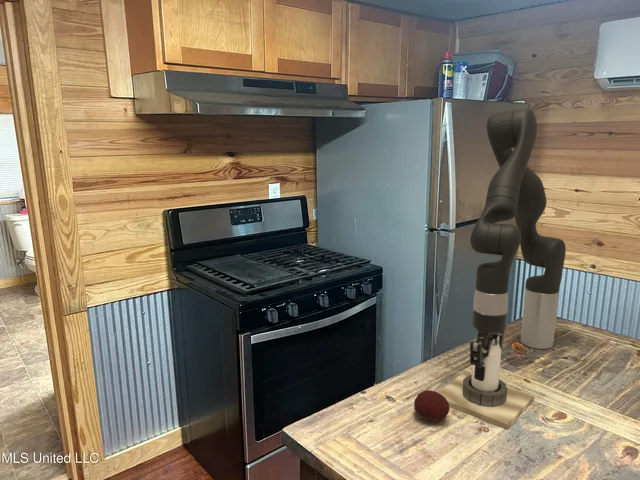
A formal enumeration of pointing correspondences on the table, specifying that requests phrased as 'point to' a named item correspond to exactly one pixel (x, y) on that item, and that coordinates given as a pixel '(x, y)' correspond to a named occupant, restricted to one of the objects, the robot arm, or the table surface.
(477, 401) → the ring board
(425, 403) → the potato
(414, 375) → the table surface
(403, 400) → the table surface
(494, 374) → the beverage can
